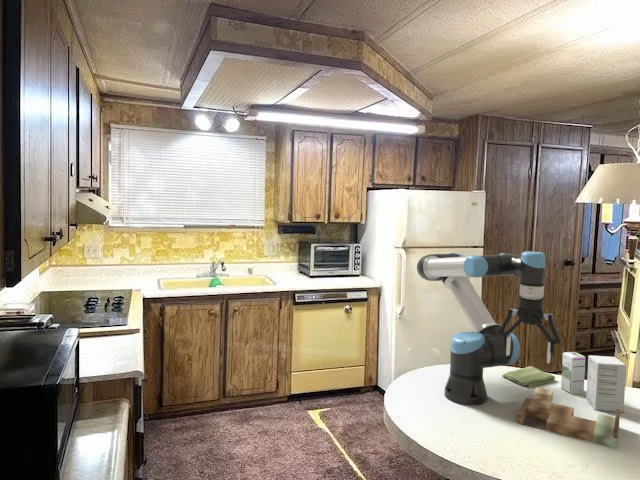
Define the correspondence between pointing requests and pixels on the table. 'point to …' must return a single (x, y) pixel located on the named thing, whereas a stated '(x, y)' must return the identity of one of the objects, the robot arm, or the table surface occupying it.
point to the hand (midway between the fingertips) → (527, 358)
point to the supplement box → (606, 383)
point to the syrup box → (573, 373)
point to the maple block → (543, 398)
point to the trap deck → (570, 423)
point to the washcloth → (529, 376)
